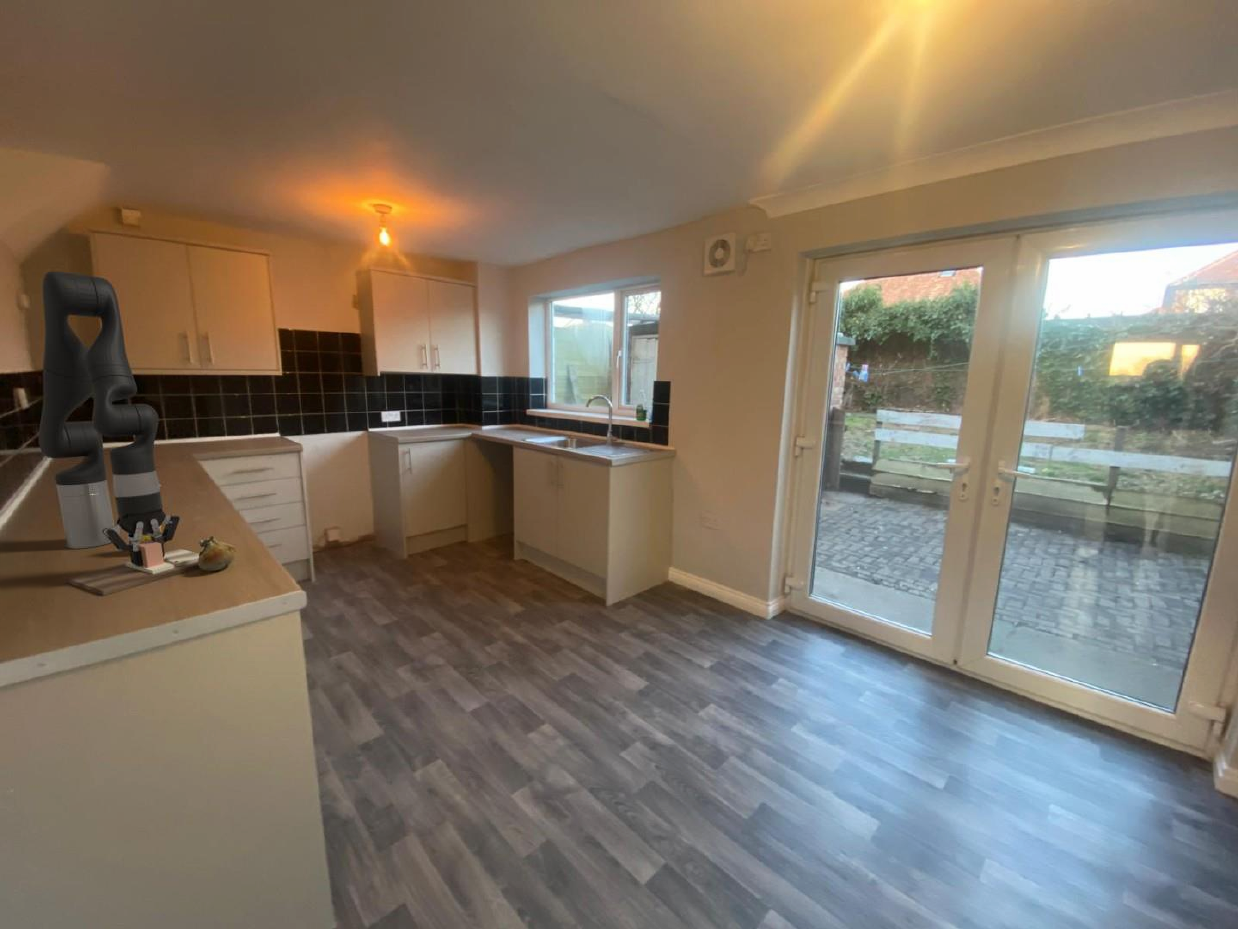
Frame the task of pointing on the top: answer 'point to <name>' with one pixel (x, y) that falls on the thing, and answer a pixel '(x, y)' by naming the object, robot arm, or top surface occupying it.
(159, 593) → the top surface
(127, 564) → the pink and white block
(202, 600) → the top surface
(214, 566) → the onion
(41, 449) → the robot arm
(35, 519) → the top surface
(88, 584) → the board
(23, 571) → the top surface
